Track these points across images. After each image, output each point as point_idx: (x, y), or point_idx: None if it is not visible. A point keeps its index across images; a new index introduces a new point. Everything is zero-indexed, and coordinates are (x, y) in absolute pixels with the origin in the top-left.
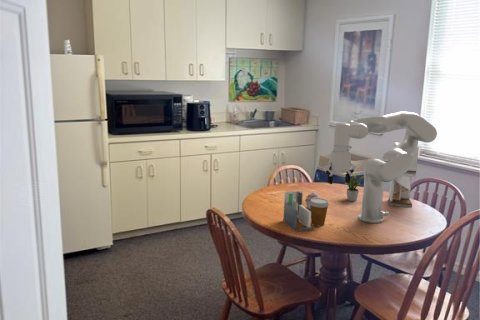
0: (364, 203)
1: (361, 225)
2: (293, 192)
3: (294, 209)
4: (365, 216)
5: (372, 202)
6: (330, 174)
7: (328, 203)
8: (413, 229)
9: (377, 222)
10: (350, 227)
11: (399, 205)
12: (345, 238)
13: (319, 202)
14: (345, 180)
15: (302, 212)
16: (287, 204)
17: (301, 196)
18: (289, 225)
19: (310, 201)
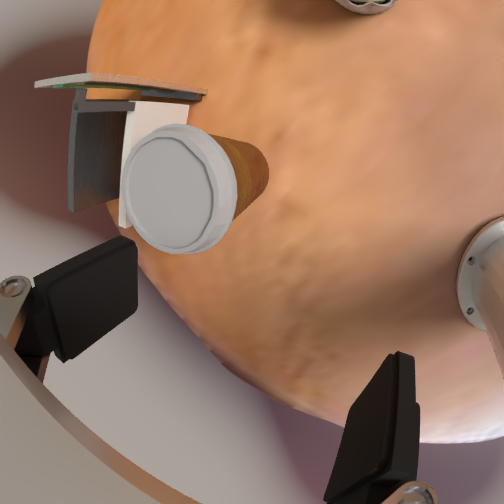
0: (502, 309)
1: (407, 299)
2: (60, 84)
3: (69, 198)
4: (475, 287)
5: (499, 365)
6: (26, 351)
7: (212, 240)
8: (494, 406)
9: (478, 326)
10: (343, 286)
11: None
12: (239, 333)
13: (156, 214)
14: (384, 375)
15: None
16: (70, 125)
17: (94, 111)
18: None
19: (126, 167)
